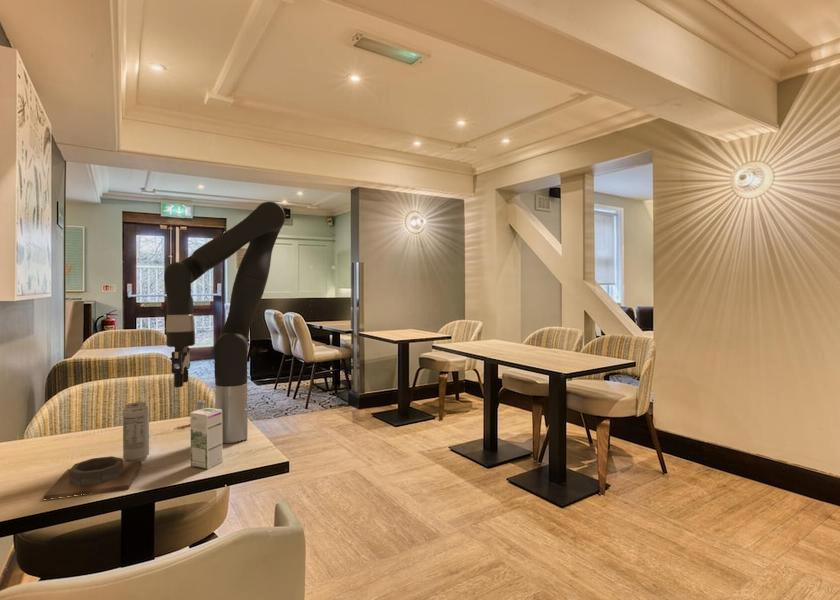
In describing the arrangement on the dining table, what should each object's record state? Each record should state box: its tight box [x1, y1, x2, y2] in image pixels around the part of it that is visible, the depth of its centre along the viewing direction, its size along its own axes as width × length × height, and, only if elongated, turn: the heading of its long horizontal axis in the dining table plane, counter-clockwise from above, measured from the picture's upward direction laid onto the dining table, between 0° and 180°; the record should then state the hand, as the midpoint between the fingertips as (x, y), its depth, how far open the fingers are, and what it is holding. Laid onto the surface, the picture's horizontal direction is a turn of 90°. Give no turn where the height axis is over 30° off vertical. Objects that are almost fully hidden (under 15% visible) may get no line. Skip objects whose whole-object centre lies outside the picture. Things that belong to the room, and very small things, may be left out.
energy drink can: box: [122, 401, 150, 463], centre depth 125 cm, size 6×6×15 cm
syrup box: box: [189, 407, 224, 470], centre depth 122 cm, size 6×6×14 cm
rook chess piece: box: [194, 398, 206, 411], centre depth 159 cm, size 4×4×8 cm
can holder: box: [43, 455, 142, 500], centre depth 111 cm, size 16×16×4 cm
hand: (181, 384), depth 136 cm, fingers open, 8 cm apart
